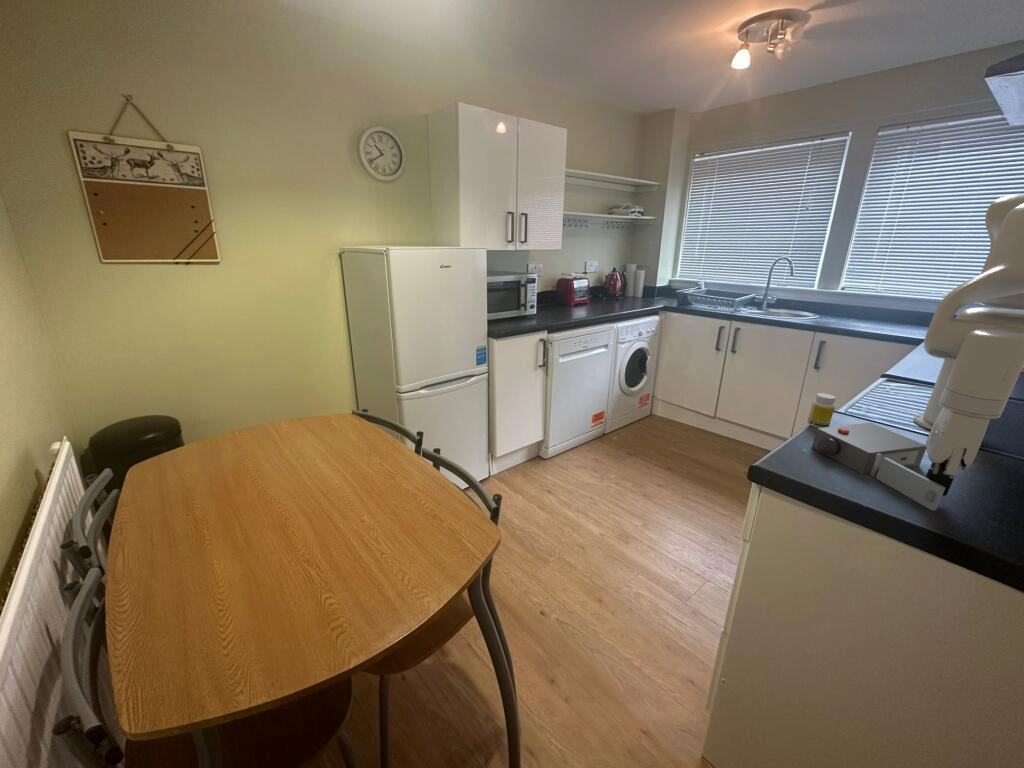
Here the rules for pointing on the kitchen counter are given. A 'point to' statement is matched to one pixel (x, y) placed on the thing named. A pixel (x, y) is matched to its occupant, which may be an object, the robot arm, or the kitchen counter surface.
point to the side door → (910, 483)
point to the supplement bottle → (822, 410)
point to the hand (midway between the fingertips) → (933, 491)
